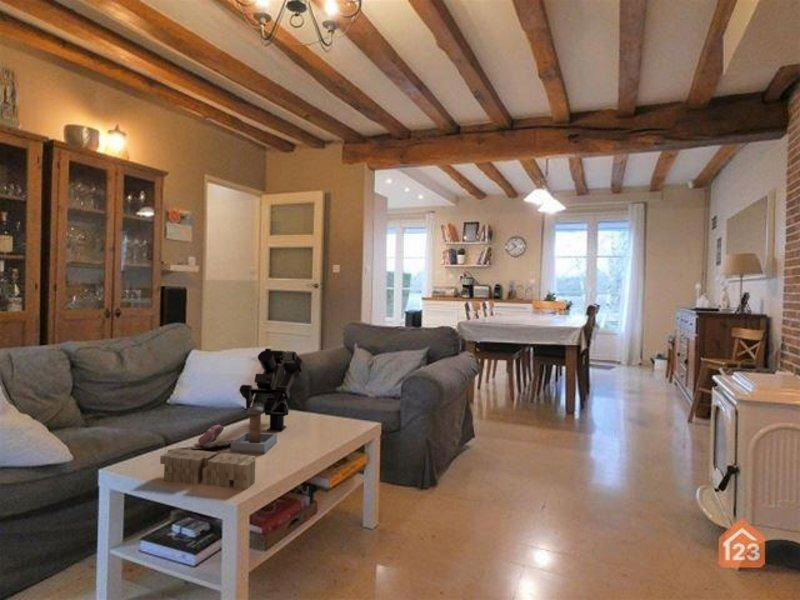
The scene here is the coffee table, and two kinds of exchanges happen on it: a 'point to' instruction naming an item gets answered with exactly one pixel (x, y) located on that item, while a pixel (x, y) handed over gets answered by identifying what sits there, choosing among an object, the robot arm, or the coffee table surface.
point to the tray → (253, 444)
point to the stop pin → (255, 424)
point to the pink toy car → (211, 434)
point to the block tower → (209, 468)
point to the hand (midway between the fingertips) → (258, 411)
